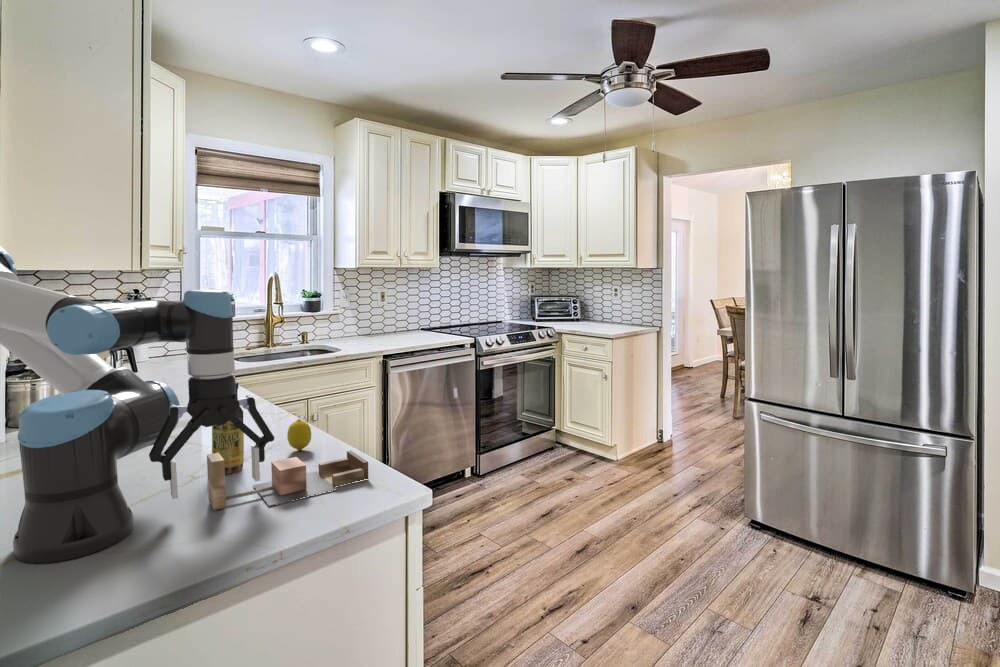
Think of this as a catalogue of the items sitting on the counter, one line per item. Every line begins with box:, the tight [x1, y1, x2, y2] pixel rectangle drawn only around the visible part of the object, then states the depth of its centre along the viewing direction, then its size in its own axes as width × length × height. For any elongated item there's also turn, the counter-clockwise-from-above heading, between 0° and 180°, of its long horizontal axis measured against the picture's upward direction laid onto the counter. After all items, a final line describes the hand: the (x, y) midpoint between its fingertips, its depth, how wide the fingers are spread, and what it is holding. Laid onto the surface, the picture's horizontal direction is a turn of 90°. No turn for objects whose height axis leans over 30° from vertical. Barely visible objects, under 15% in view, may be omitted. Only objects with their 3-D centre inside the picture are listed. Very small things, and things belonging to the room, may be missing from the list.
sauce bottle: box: [211, 380, 245, 475], centre depth 115 cm, size 6×6×20 cm
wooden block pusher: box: [206, 453, 307, 511], centre depth 102 cm, size 16×6×9 cm, turn 128°
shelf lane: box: [252, 449, 369, 507], centre depth 109 cm, size 20×12×4 cm, turn 128°
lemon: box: [286, 418, 312, 452], centre depth 129 cm, size 6×6×8 cm
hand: (217, 487), depth 97 cm, fingers open, 13 cm apart
